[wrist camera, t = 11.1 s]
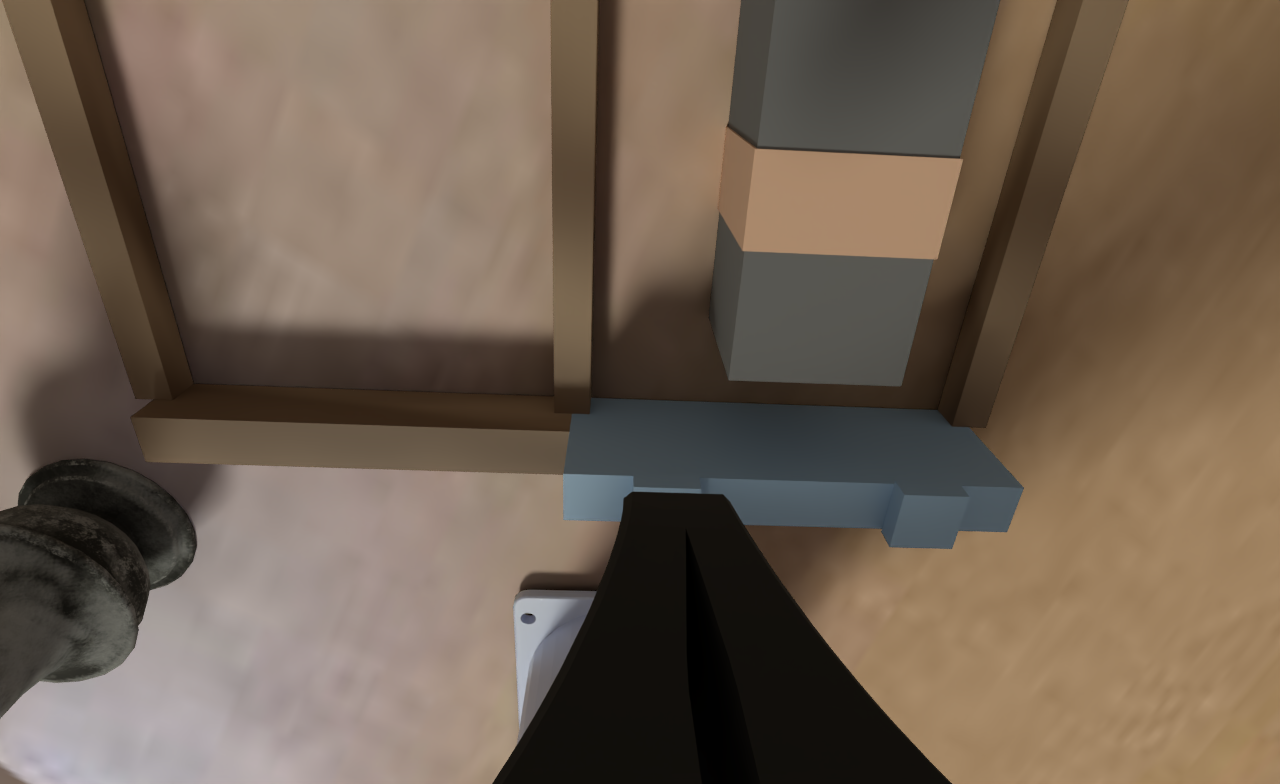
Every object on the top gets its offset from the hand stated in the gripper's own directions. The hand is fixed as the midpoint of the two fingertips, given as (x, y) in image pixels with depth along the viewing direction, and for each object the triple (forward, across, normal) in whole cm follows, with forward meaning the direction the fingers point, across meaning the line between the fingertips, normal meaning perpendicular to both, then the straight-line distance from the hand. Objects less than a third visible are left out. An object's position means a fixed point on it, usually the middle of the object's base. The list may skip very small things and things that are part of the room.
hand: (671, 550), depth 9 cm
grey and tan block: (+10, -4, -3) cm, 12 cm away
